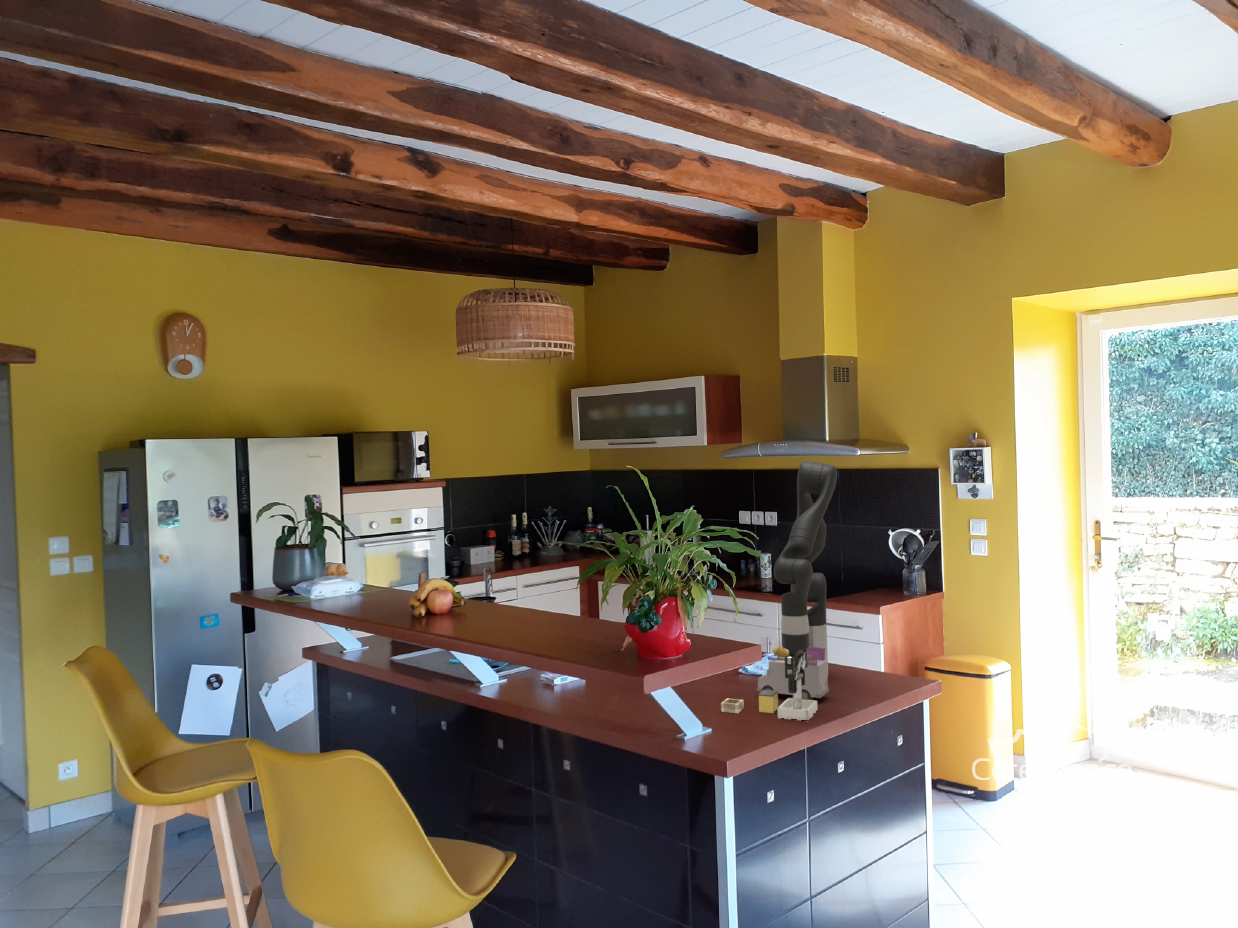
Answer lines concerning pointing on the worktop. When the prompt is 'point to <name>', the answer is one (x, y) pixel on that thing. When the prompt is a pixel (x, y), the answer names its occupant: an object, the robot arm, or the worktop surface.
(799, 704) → the pin
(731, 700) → the holder
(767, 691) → the block
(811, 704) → the tray
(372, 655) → the worktop surface
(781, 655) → the toy vehicle
